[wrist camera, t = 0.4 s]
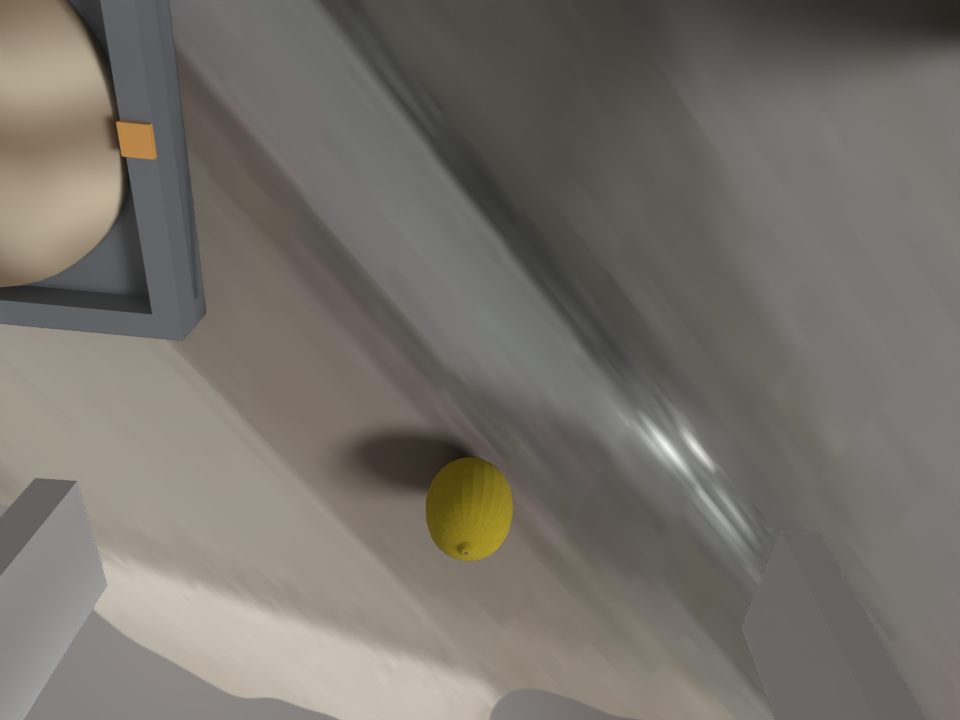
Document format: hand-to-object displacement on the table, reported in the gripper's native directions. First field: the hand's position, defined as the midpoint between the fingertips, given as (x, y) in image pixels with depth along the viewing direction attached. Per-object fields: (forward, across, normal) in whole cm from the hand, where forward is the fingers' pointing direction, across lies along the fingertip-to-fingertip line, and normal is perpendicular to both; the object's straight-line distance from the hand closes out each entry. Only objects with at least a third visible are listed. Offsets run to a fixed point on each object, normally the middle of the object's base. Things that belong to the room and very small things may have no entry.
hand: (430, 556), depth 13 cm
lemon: (+27, +1, -20) cm, 34 cm away
